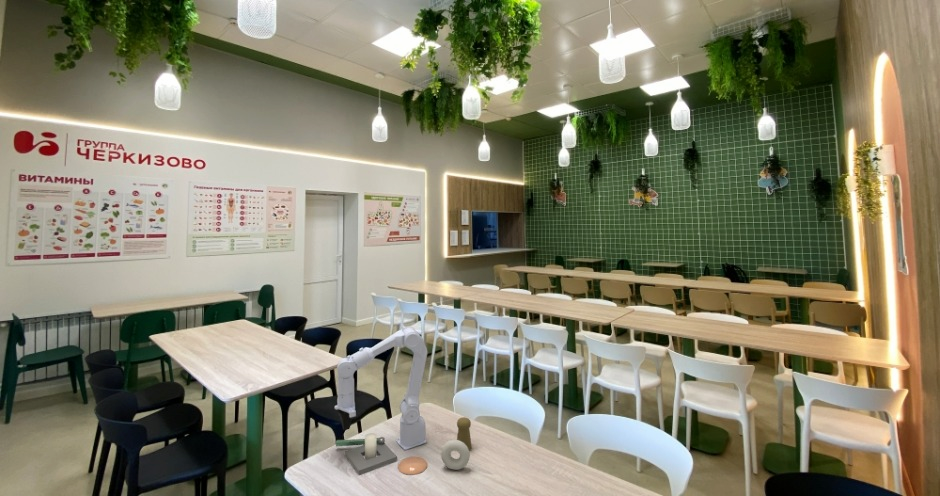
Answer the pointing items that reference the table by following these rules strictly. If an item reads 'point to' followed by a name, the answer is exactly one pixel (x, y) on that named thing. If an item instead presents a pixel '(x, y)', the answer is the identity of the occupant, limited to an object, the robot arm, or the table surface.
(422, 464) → the coaster
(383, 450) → the collar block
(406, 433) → the robot arm
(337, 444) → the bar
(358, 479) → the table surface
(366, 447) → the plug
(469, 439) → the brown pawn
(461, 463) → the donut
